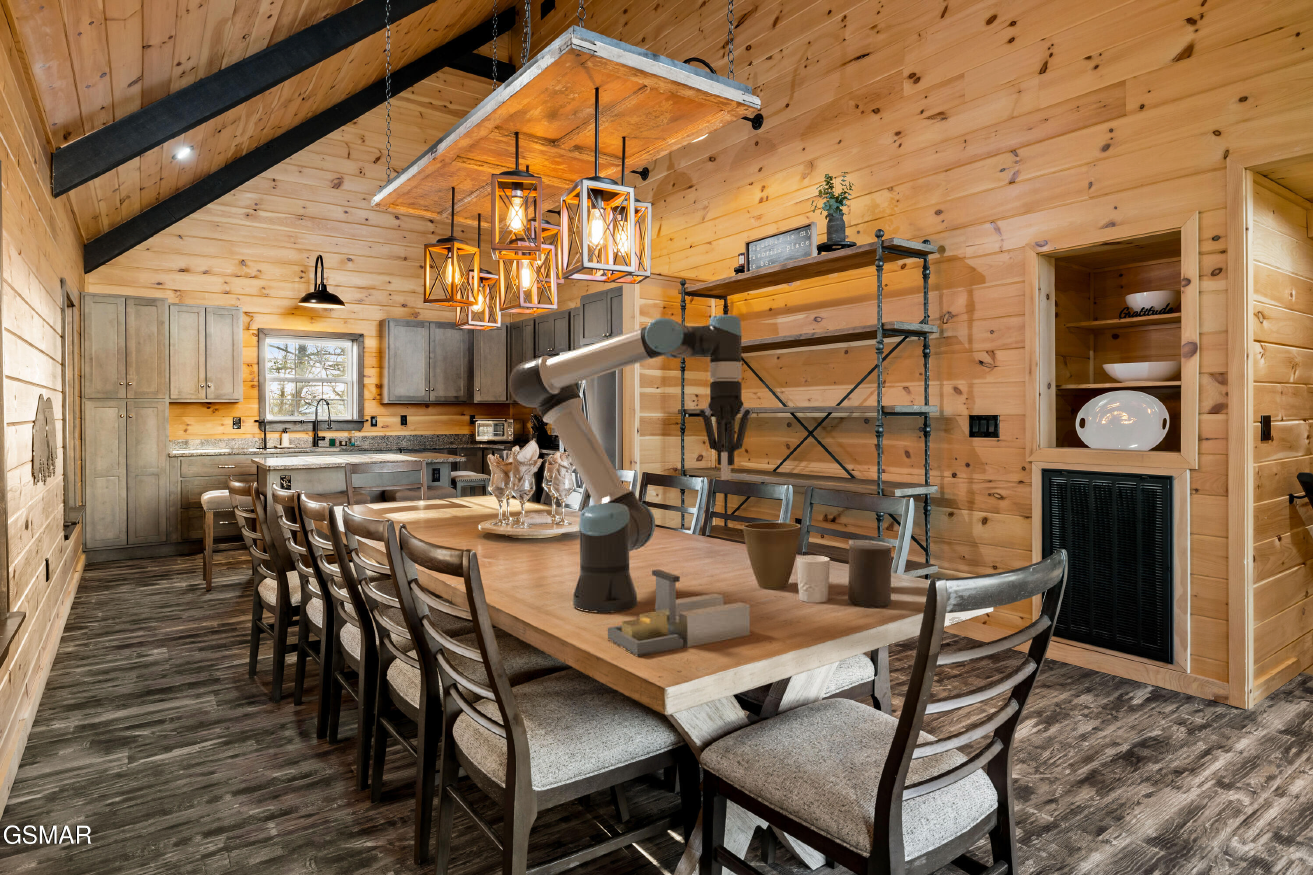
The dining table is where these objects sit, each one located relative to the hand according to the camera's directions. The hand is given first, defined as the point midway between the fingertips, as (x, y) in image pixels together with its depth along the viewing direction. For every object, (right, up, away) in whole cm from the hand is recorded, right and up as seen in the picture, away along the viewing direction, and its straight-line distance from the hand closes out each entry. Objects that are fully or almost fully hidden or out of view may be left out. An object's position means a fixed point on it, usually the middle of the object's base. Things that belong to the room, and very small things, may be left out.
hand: (725, 479), depth 174 cm
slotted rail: (-8, -30, -27) cm, 41 cm away
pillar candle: (+34, -29, -3) cm, 45 cm away
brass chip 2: (-17, -29, -32) cm, 46 cm away
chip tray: (-19, -30, -33) cm, 49 cm away
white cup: (+21, -29, +1) cm, 36 cm away
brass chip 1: (-19, -28, -33) cm, 47 cm away
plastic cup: (+38, -29, +12) cm, 49 cm away
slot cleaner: (-15, -26, -31) cm, 43 cm away
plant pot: (+13, -29, +15) cm, 36 cm away
